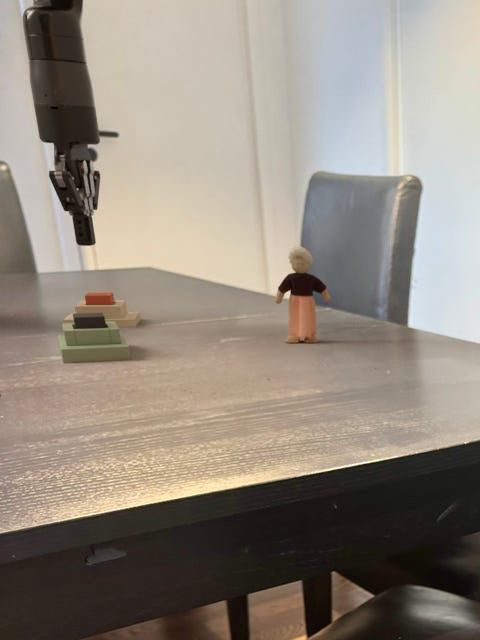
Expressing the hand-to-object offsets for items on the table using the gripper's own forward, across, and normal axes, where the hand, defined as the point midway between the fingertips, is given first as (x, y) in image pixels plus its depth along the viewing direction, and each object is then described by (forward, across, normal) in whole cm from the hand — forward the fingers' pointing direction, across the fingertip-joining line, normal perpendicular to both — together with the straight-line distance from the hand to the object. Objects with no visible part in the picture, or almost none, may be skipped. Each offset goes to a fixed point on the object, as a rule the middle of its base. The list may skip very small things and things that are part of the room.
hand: (86, 245), depth 128 cm
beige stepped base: (+12, -8, -2) cm, 14 cm away
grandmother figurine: (+12, +4, +31) cm, 33 cm away
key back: (+9, -8, -2) cm, 12 cm away
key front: (+9, +17, +5) cm, 20 cm away
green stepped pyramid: (+12, +17, +5) cm, 21 cm away
